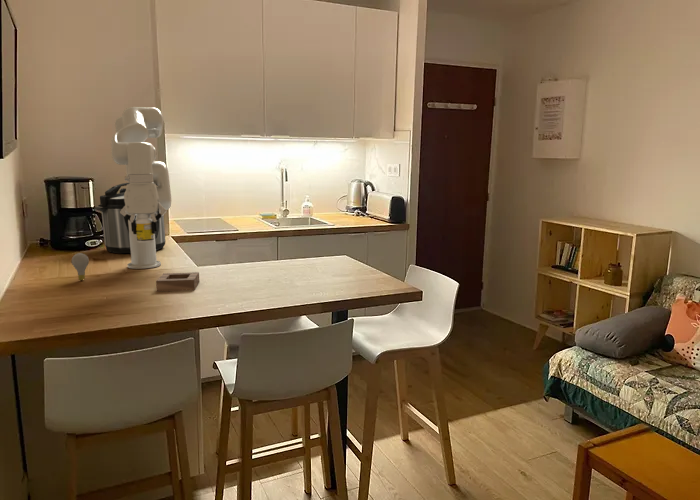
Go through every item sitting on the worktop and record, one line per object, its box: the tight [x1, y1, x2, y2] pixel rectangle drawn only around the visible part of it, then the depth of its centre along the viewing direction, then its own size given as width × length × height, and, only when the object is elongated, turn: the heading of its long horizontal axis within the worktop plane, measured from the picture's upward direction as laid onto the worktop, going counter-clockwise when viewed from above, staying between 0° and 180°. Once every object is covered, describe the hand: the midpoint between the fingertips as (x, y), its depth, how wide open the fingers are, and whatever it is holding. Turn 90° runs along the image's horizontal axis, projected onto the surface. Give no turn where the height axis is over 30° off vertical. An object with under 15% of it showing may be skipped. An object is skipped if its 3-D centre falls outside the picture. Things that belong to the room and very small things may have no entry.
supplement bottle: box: [136, 214, 154, 243], centre depth 187 cm, size 5×5×10 cm
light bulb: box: [71, 252, 90, 281], centre depth 196 cm, size 6×5×10 cm
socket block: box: [155, 271, 200, 293], centre depth 187 cm, size 12×12×4 cm
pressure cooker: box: [94, 182, 166, 254], centre depth 259 cm, size 30×28×32 cm
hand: (145, 233), depth 188 cm, fingers closed on supplement bottle, 5 cm apart
